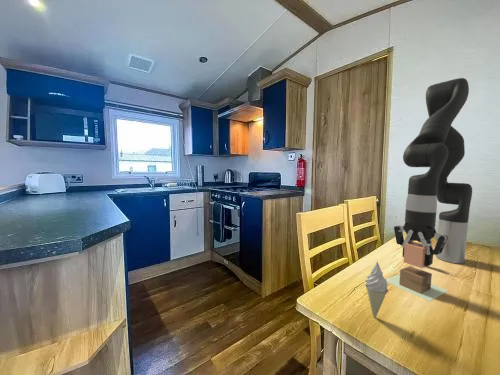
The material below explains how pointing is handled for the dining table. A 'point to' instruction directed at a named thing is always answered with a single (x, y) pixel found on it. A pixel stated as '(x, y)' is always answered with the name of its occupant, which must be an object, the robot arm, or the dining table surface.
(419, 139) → the robot arm
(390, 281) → the sage board
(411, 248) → the terracotta block
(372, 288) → the ice cream cone
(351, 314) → the dining table surface
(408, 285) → the walnut block
